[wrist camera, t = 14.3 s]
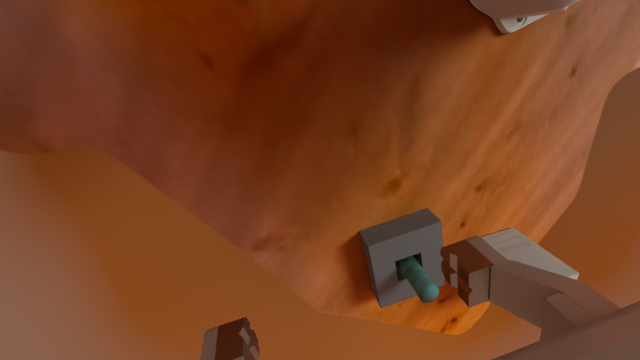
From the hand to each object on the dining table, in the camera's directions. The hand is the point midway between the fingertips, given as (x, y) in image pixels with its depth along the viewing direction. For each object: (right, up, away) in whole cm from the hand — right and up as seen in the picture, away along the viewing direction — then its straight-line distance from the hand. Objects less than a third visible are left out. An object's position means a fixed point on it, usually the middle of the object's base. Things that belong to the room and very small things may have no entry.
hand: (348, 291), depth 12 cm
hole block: (+12, -8, +40) cm, 42 cm away
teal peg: (+13, -8, +40) cm, 42 cm away
